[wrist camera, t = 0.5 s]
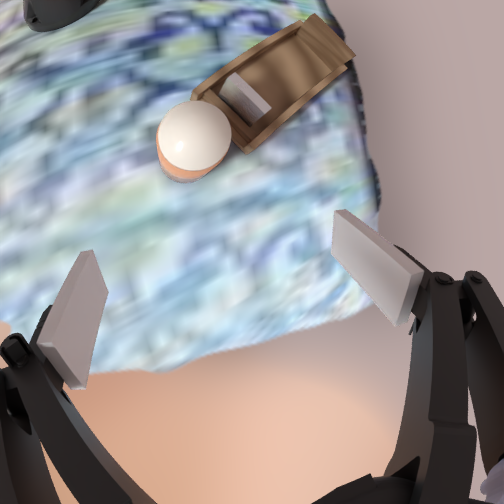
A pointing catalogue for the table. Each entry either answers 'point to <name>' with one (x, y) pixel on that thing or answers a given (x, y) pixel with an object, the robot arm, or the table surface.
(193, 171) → the jar
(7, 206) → the table surface
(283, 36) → the tray
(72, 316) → the robot arm
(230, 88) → the pusher
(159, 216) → the table surface
